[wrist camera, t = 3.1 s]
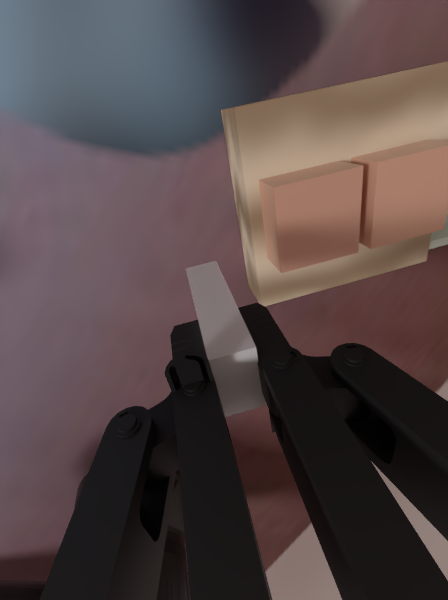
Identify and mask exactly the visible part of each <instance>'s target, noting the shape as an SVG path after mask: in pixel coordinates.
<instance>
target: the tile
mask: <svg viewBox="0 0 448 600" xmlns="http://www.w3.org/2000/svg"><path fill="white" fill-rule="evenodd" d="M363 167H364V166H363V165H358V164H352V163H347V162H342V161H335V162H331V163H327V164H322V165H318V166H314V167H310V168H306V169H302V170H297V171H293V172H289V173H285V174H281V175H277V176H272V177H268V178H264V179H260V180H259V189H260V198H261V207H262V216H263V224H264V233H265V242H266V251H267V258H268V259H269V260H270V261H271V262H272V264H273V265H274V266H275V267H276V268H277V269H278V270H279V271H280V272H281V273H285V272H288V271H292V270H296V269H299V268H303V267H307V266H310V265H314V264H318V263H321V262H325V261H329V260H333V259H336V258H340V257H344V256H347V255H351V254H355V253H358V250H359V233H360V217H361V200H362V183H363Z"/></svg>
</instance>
